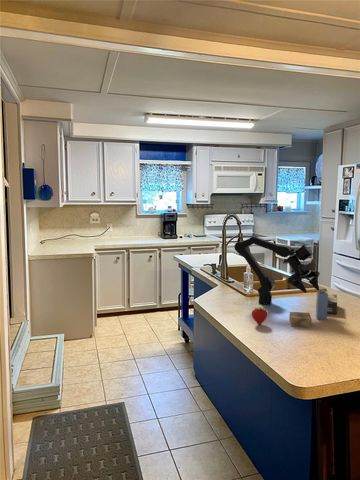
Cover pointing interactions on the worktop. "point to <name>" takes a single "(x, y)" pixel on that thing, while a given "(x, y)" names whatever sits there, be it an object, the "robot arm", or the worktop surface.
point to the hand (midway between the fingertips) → (312, 291)
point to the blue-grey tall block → (321, 305)
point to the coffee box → (332, 304)
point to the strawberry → (259, 315)
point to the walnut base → (300, 319)
